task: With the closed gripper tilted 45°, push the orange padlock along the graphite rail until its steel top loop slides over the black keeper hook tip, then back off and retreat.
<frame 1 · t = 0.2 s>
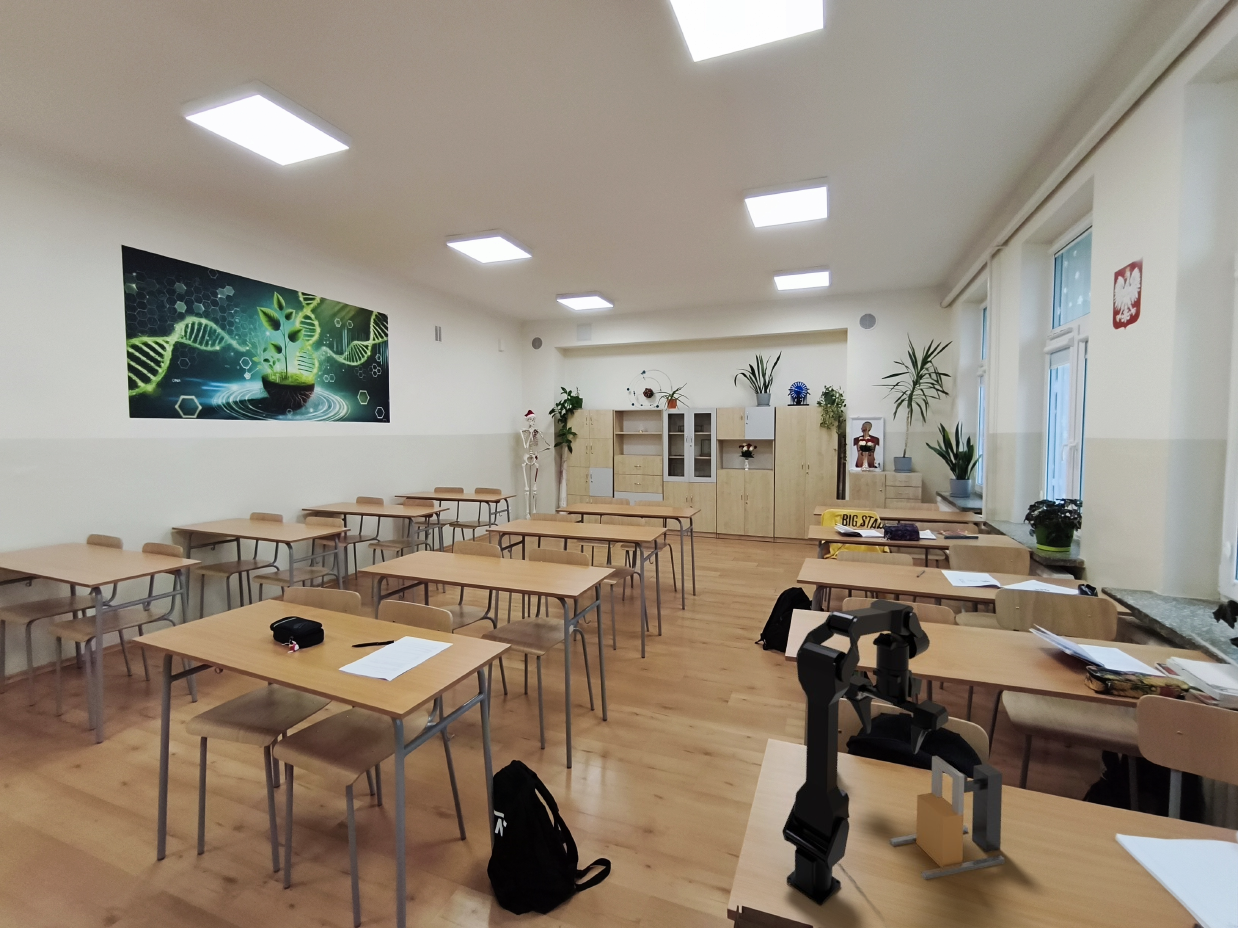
hand: (890, 742, 108), 14 cm above the table, tool pointing down, fingers open, 9 cm apart
beverage bottle: (821, 770, 122), on the table
orange padlock: (939, 810, 96), point 9 cm above the table, slide at 0.0 cm
keeper rail: (967, 853, 97), on the table
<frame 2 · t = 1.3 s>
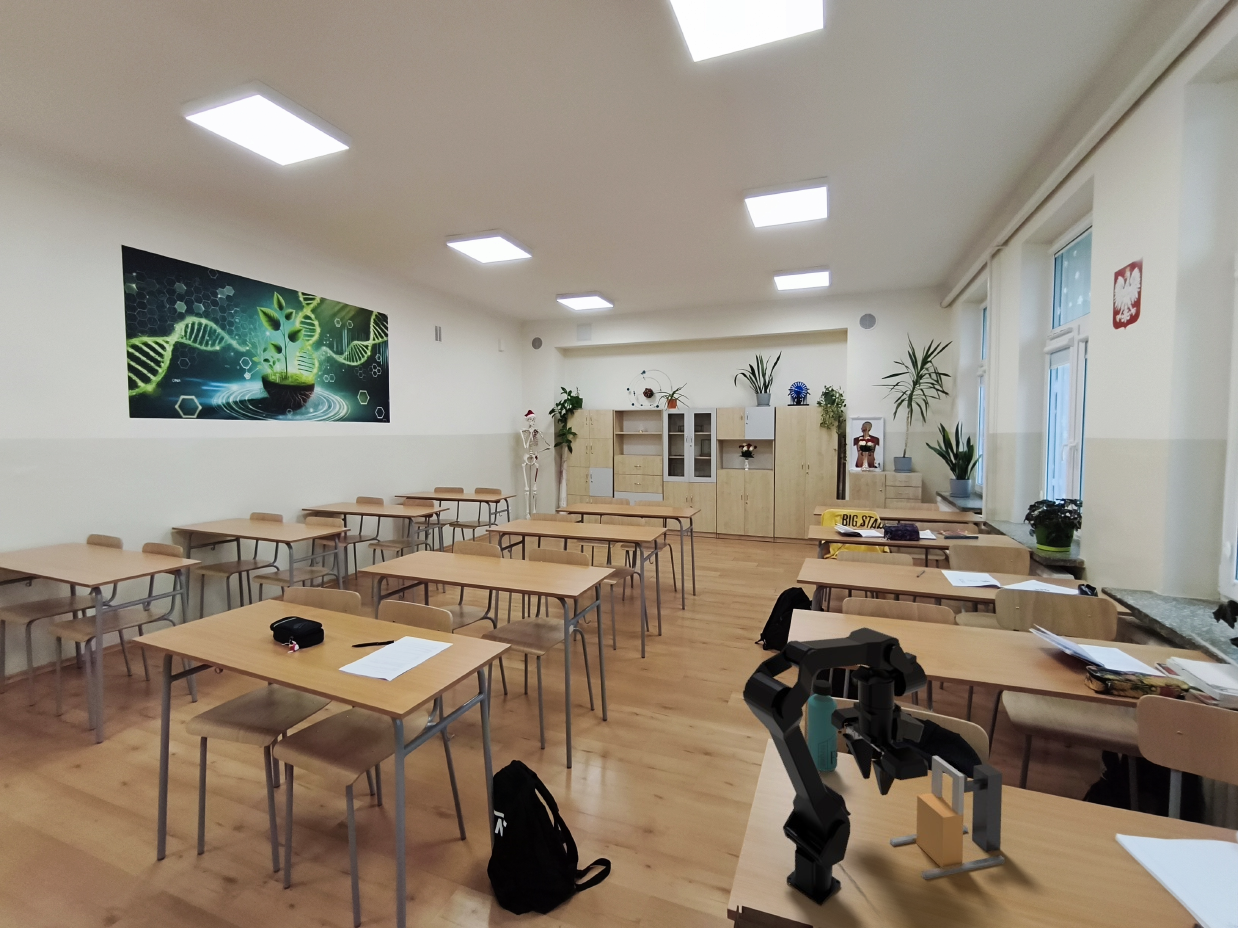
hand: (875, 786, 98), 12 cm above the table, tool pointing down, fingers open, 4 cm apart
nothing on the table moved.
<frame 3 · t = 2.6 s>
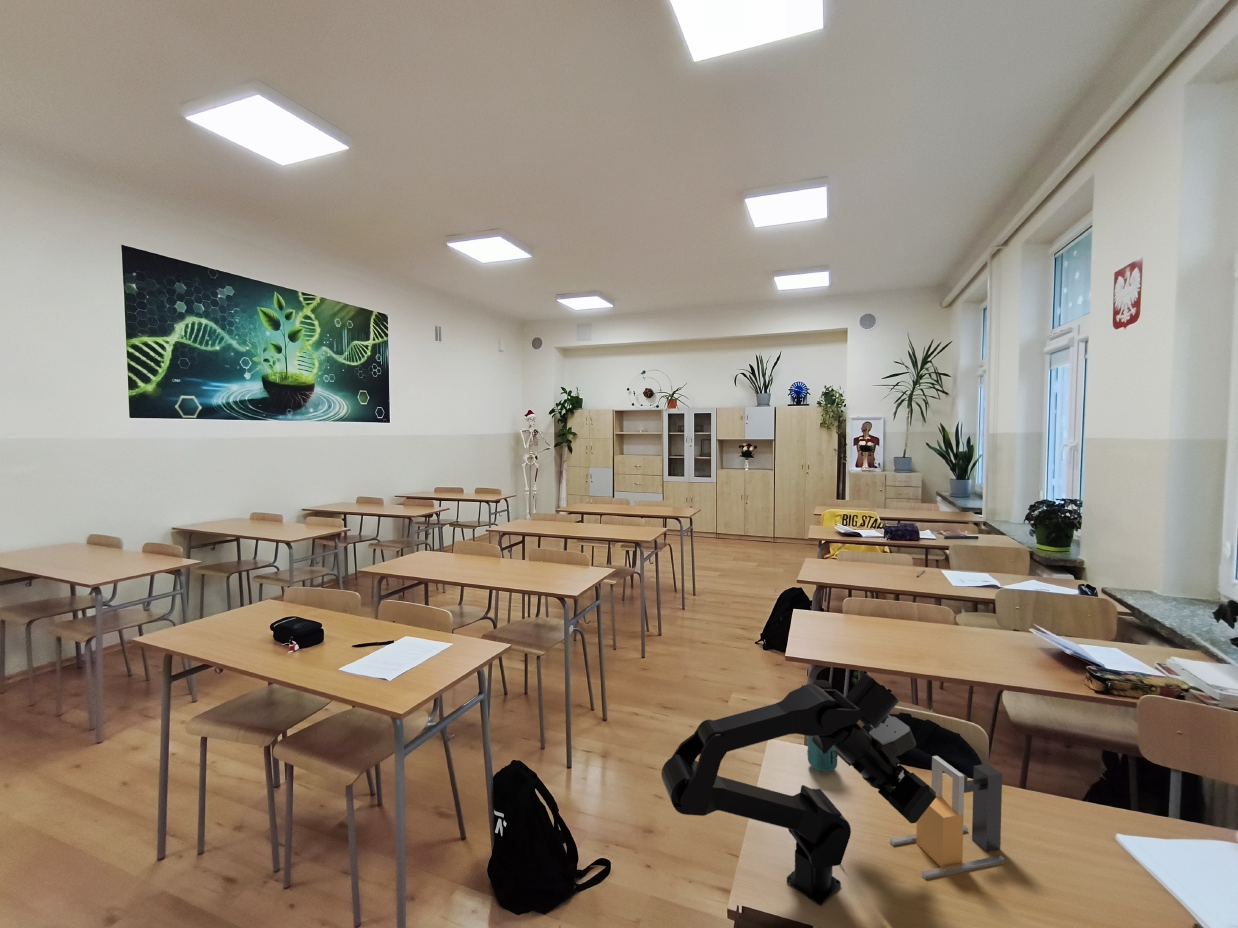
hand: (909, 798, 94), 12 cm above the table, tool tilted 45°, fingers closed
nothing on the table moved.
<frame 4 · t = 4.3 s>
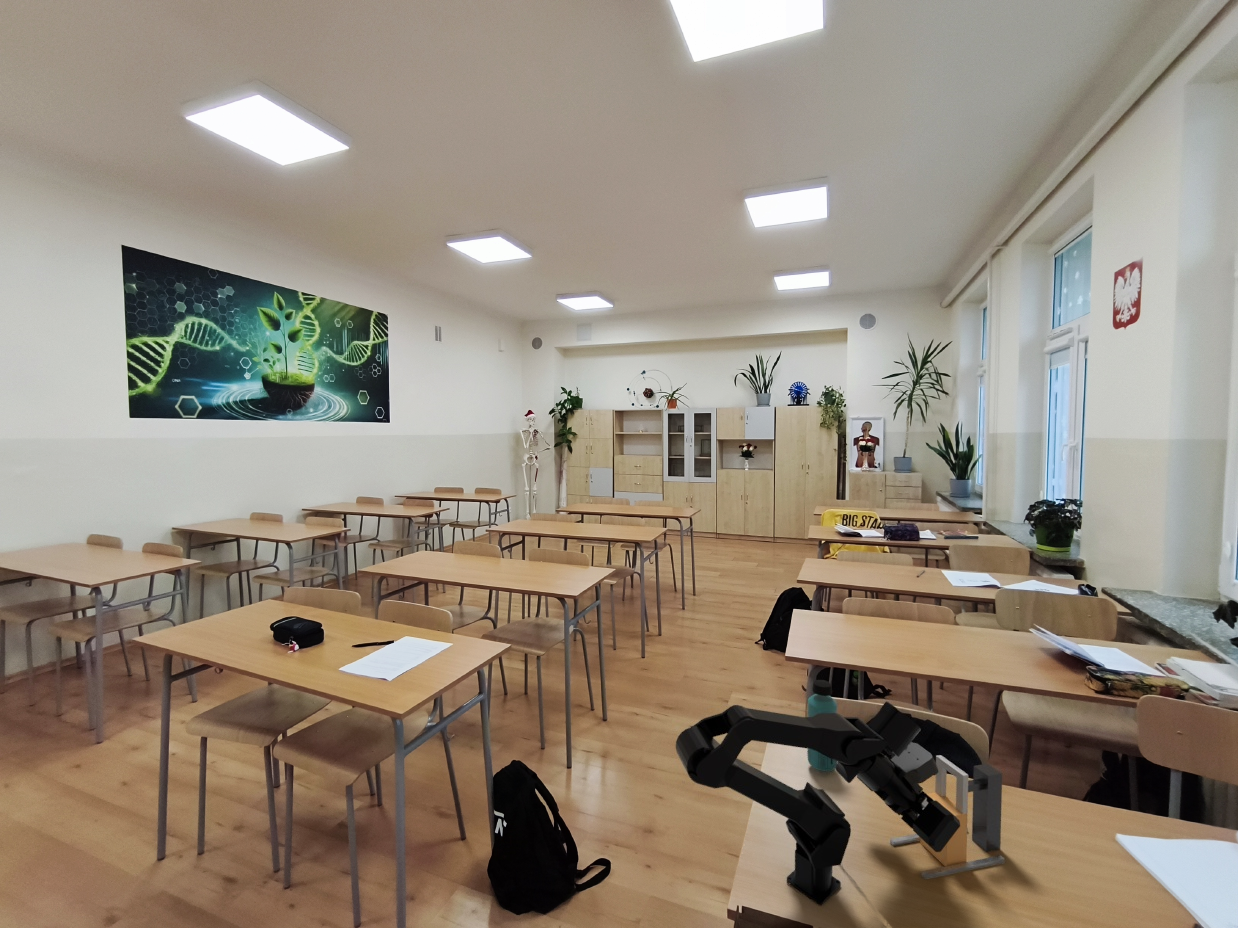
hand: (932, 823, 95), 7 cm above the table, tool tilted 45°, fingers closed, pressing on orange padlock
orange padlock: (943, 809, 96), point 9 cm above the table, slide at 0.8 cm, touching gripper
everything else where it was.
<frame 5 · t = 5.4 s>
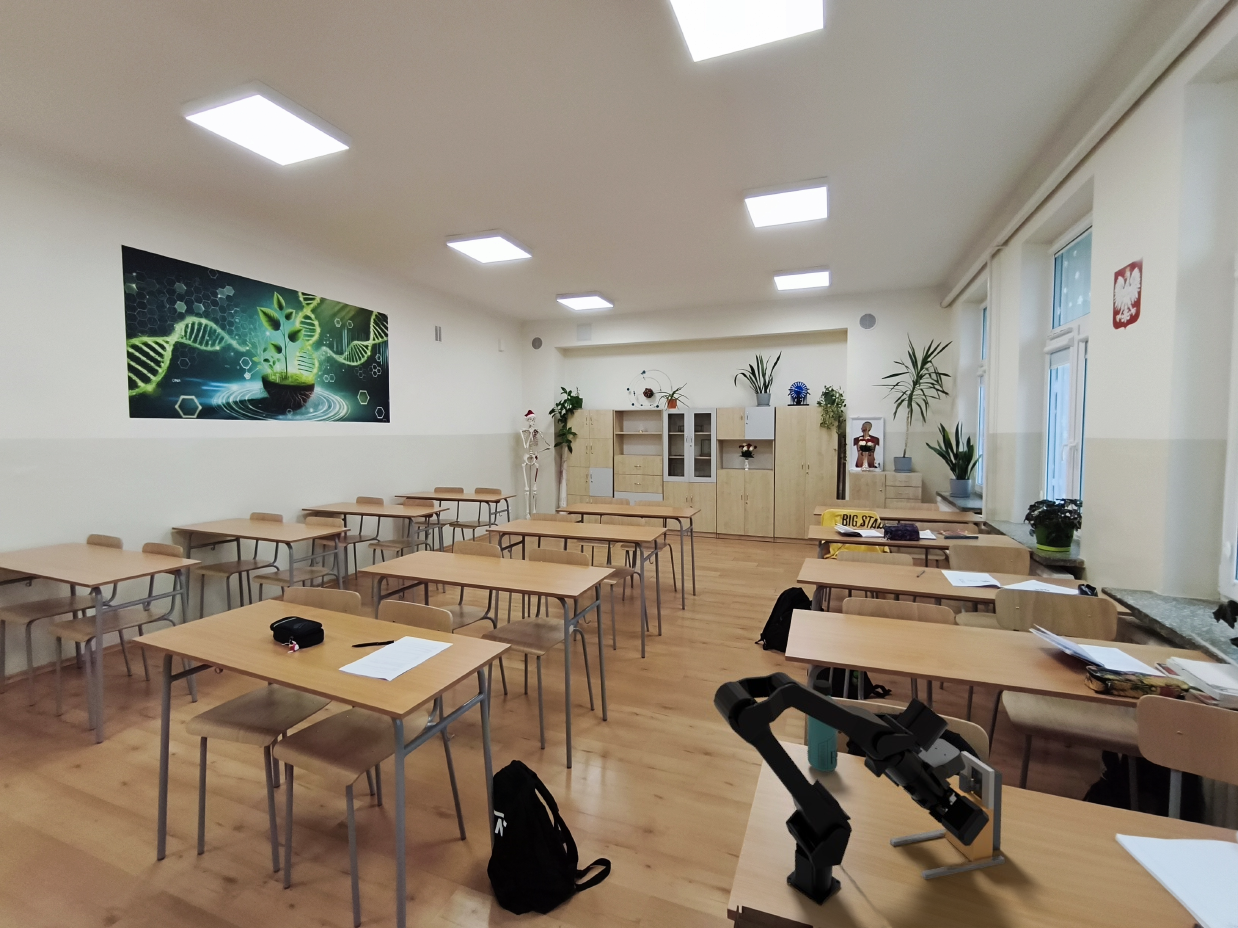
hand: (958, 819, 97), 7 cm above the table, tool tilted 45°, fingers closed, pressing on orange padlock
orange padlock: (969, 804, 97), point 9 cm above the table, slide at 6.2 cm, touching gripper
everything else where it was.
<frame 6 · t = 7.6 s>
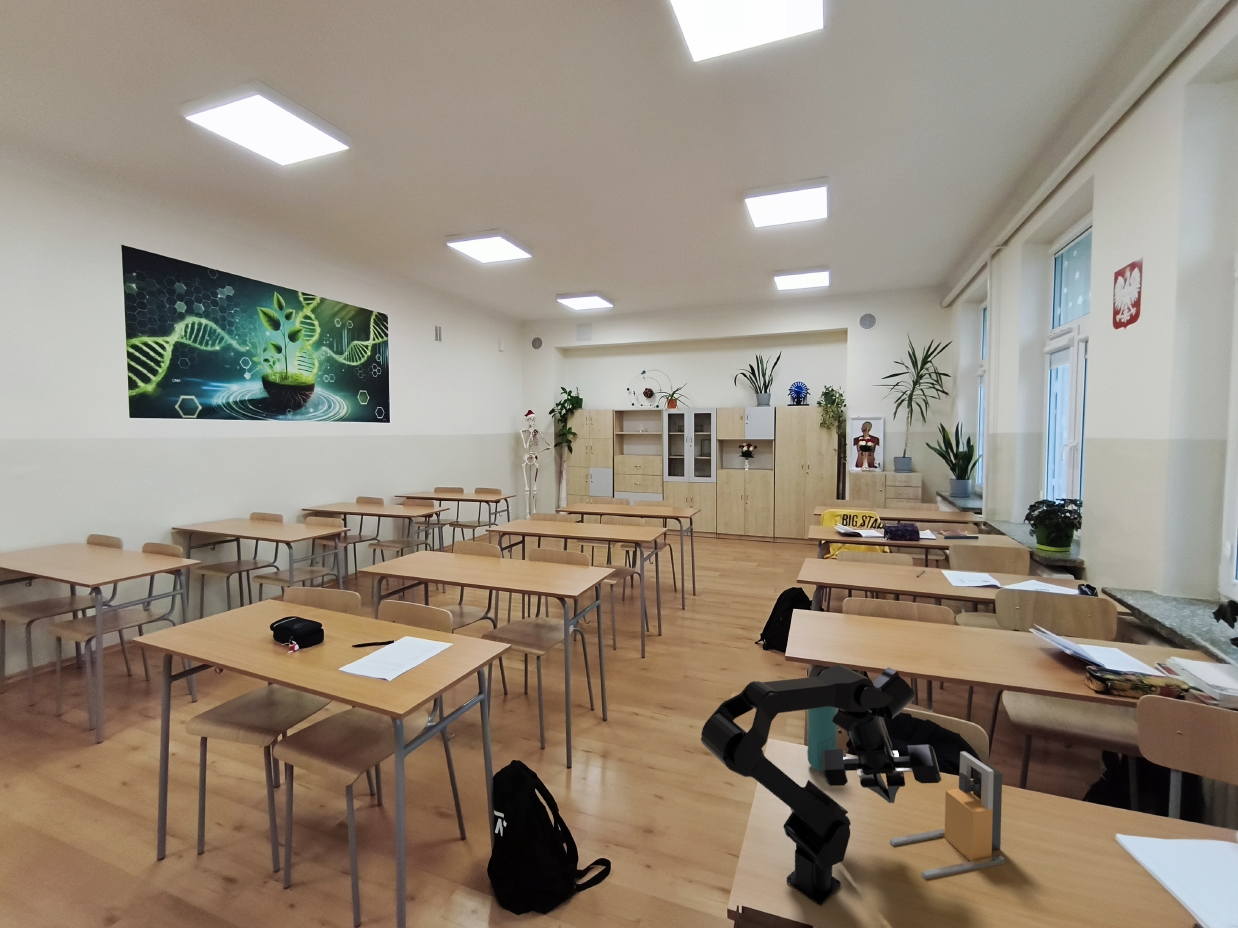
hand: (891, 800, 98), 9 cm above the table, tool tilted 25°, fingers closed
orange padlock: (968, 805, 97), point 9 cm above the table, slide at 6.0 cm
everything else where it was.
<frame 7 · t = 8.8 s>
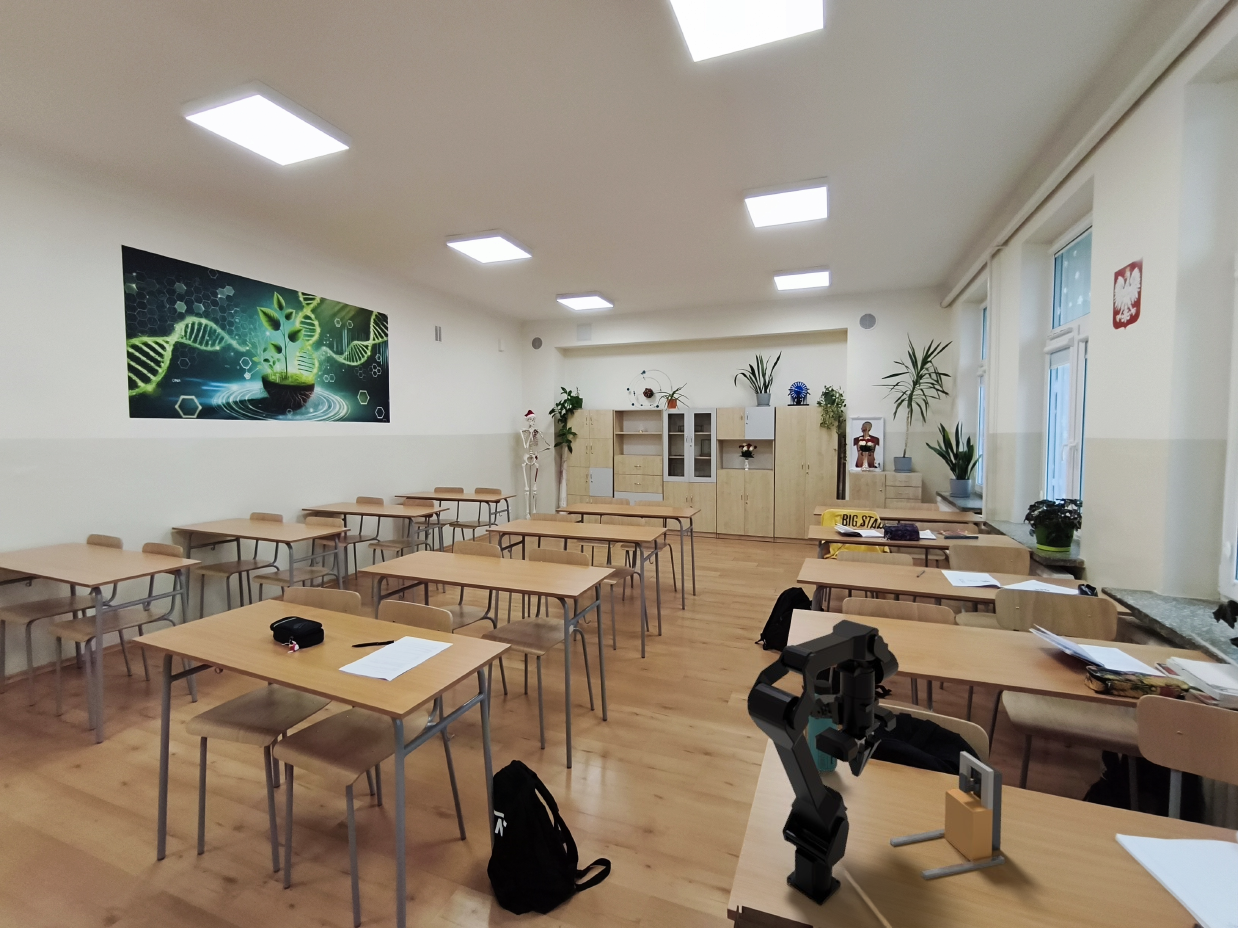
hand: (856, 775, 99), 13 cm above the table, tool pointing down, fingers closed
nothing on the table moved.
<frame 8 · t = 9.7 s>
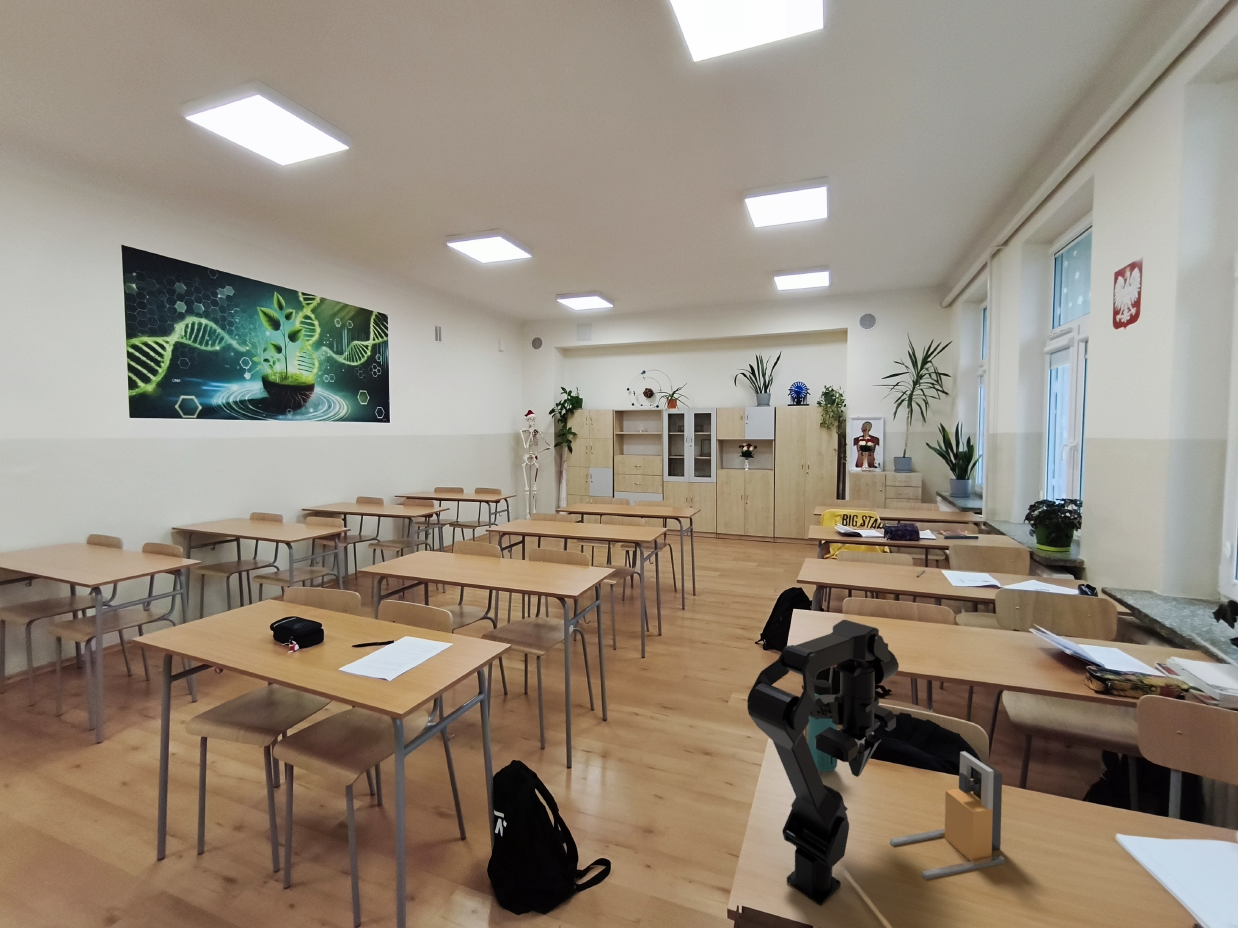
hand: (856, 775, 99), 13 cm above the table, tool pointing down, fingers closed
nothing on the table moved.
at the end: orange padlock slide at 6.0 cm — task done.
